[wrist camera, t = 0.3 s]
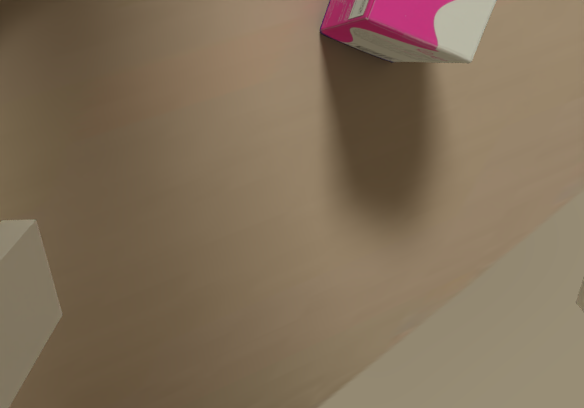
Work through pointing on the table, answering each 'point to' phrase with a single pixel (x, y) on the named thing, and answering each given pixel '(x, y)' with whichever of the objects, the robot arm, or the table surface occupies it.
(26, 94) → the table surface
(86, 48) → the table surface
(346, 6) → the supplement box
